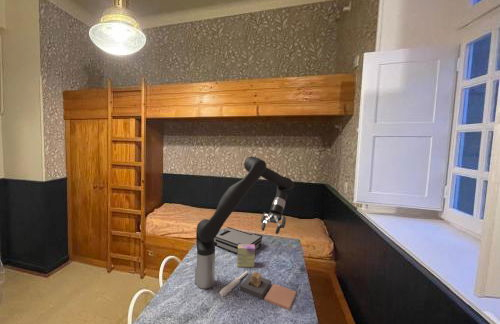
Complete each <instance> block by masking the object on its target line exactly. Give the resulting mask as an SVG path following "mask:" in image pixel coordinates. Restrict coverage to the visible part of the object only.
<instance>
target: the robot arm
mask: <svg viewBox="0 0 500 324" xmlns="http://www.w3.org/2000/svg"><path fill="white" fill-rule="evenodd" d="M243 166H244V169H245V170H246V171H247V174H246V175H245V176H244V177H243V178H242V179H241V180H239V181H237V182H235V183H234V184H232V185H231V186H229V187H228V188H227V190H226V191H225V192H224V193H223V195H222V196H221V197H220V199H219V202H218V204H217V206H216V210H214V213H213V215H212V216H211V217H210V218H209V219H207V218H205V219H202V220H201V221H198V224H197V225H196V230H195V232H196V233H195V235H196V236H195V237H196V239H195V241H196V243H195V244H196V264H195V265H194V266H195V267H194V284H196V286H197V287H198V289H199V288H200V289H204V290H206V289H209V288H211V287H213V285H215V273H216V270H215V267H216V265H215V264H216V244H215V243H214V238H215V237H216V235H217V234H218V235H219V233H220V230H221V228H222V227H223V225H224V224H225V223H226V221H227V220H228V218H229V217H230V216H231V215H232V213H233V212H234V210H235V209H236V207H238V205H239V204H240V203H241V201H242V200H243V198H244V197H245V196H246V194H247V193H248V192H249V190H250V189H251V188H252V187H253V186H254V184H255V183H256V182H257V181H258V180H259V179H260V178H264V179H265V180H266V181H267V182H270V183H271V184H272V185H274V186H276V194H275V197H274V199H273V201H272V202H271V203H272V204H271V206H270V209H269V212H268V213H266V212H263V213H262V216H261V218H260V221H259V222H261V227H260V229H261V231H263V232H264V231H265V228H266V225H267V224H269V223H273V224H276V225H277V227H276V229H275V234H276V235H278V234H279V233H280V231H281V229H284V228H285V227H286V221H287V218H286V216H283V213H284V210H285V206H286V202H287V199H288V193H287V192H286V191H291V190H293V188H294V187H295V184H294V181H293V180H292V179H291V178H290V177H286V176H284V175H283V176H282V175H281V174H279V173H278V172H276V171H275V170H272V169H270V168H268V167H267V163H266V162H265V161H264V160H263V159H261V158H259V157H256V156H249V157H247V158H245V161H244V163H243ZM280 221H281V223H280Z"/></svg>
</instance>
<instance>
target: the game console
mask: <svg viewBox="0 0 500 324" xmlns="http://www.w3.org/2000/svg"><path fill="white" fill-rule="evenodd" d="M214 243H215V247H217V248H220V249H222V250H225V251H226V252H230V253H232V254H235V255H237V256H238V244H254V245H255V250H256V249H258V248H259V247H260V246H262V243H263V235H260V234H257V233H253V234H252V233H249V232H245V231H242V230H238V229H237V228H233V227H229V226H226V227H225V228H223V232H222V233H220V234H219V233H218V234H217V235H216V237H215V238H214Z"/></svg>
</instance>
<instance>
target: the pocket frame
mask: <svg viewBox="0 0 500 324" xmlns="http://www.w3.org/2000/svg"><path fill="white" fill-rule="evenodd" d="M252 274H253V273H249V275H247V277H246V278H245V279H244V281H243V282H241V283H240V284H239V291H240V292H242V293H244V294H248V295H249V296H253V297H255V298H256V299H260V300H262V299H263V298H264V297H265V296H266V294H267V293H268V291H269V289H270V288H271V286H272V280H270V279H268V278H266V277H262V276H261V286H260V287H259V288H256V287H253V286H251V275H252Z"/></svg>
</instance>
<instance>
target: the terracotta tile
mask: <svg viewBox="0 0 500 324" xmlns="http://www.w3.org/2000/svg"><path fill="white" fill-rule="evenodd" d="M296 295H297V291H295V290H292V289H290V288H287V287H284V286H281V285H278V284H275V283H273V284H271V286H270V288H269V289H268V291H267V292H266V294H265V295H264V297H263V298H264V300H263V301H265V302H267V303H269V304H272V305H274V306H278V307H279V308H283V309H285V310H287V311H290V309H291V306H292V304H293V302H294V300H295V297H296Z"/></svg>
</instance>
